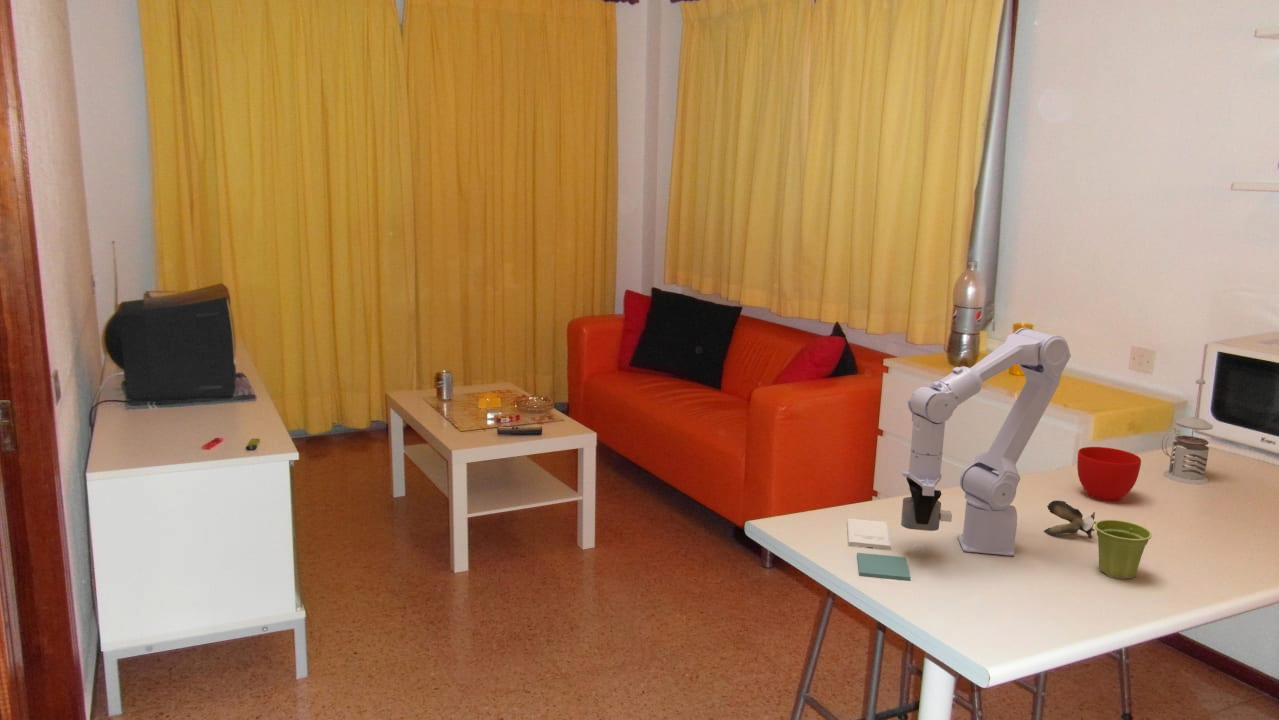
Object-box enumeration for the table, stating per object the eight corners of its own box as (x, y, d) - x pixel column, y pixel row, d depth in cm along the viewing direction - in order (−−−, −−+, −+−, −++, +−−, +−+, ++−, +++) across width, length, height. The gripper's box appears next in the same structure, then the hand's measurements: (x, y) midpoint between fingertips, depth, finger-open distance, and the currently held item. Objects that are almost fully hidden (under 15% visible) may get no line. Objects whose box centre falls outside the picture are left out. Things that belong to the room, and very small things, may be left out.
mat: (905, 560, 175) (905, 557, 175) (910, 580, 166) (910, 577, 166) (856, 555, 177) (857, 552, 176) (859, 575, 168) (859, 572, 168)
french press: (1217, 484, 223) (1234, 384, 217) (1169, 483, 223) (1184, 382, 218) (1194, 471, 232) (1209, 374, 227) (1148, 470, 232) (1162, 373, 227)
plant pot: (1143, 588, 165) (1150, 543, 164) (1086, 575, 170) (1091, 531, 168) (1147, 570, 173) (1153, 526, 171) (1092, 558, 178) (1097, 515, 176)
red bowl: (1139, 489, 218) (1145, 449, 216) (1132, 511, 204) (1138, 467, 202) (1079, 478, 225) (1084, 439, 222) (1069, 498, 211) (1074, 456, 208)
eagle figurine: (1088, 523, 193) (1043, 510, 195) (1100, 503, 188) (1054, 490, 190) (1086, 552, 188) (1040, 539, 190) (1099, 533, 183) (1052, 519, 185)
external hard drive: (887, 529, 192) (890, 553, 180) (846, 525, 193) (848, 548, 181) (887, 522, 191) (891, 545, 179) (847, 518, 193) (848, 540, 181)
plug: (901, 528, 175) (904, 503, 174) (900, 520, 179) (902, 496, 178) (951, 532, 174) (953, 507, 173) (948, 524, 178) (950, 500, 177)
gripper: (901, 438, 181) (895, 503, 184) (908, 461, 167) (902, 531, 170) (938, 441, 180) (932, 506, 183) (948, 464, 166) (942, 534, 169)
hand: (920, 519), depth 177 cm, fingers closed on plug, 4 cm apart
